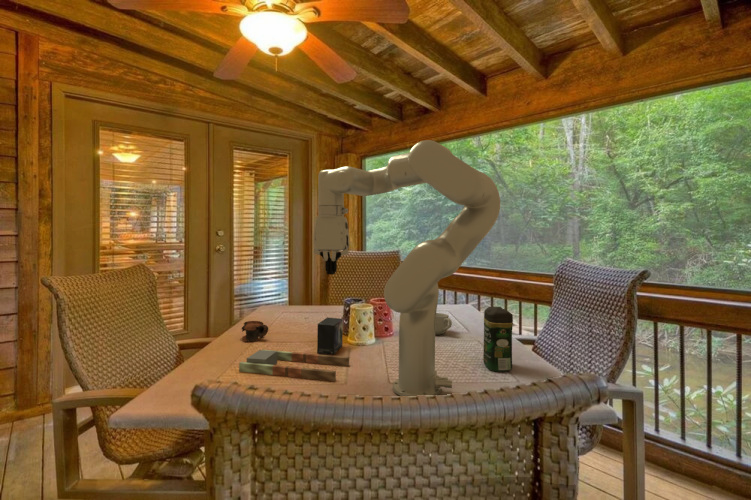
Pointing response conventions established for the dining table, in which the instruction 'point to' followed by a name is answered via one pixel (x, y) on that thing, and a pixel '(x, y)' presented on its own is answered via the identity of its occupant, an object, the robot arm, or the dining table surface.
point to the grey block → (263, 357)
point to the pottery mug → (254, 331)
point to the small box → (329, 336)
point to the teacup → (442, 323)
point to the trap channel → (297, 371)
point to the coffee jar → (498, 339)
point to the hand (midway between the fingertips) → (331, 273)
